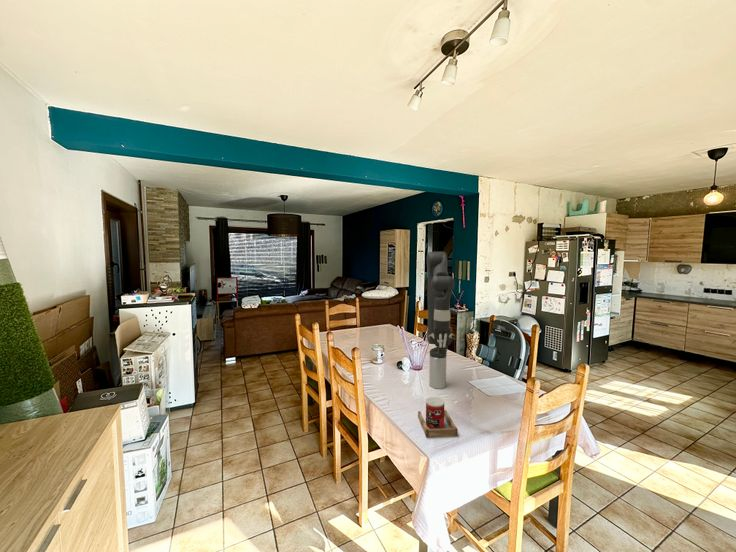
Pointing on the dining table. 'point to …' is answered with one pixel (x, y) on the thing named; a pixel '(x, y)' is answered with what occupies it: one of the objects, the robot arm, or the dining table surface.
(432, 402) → the canned food
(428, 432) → the corral
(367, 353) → the dining table surface
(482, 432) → the dining table surface
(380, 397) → the dining table surface
